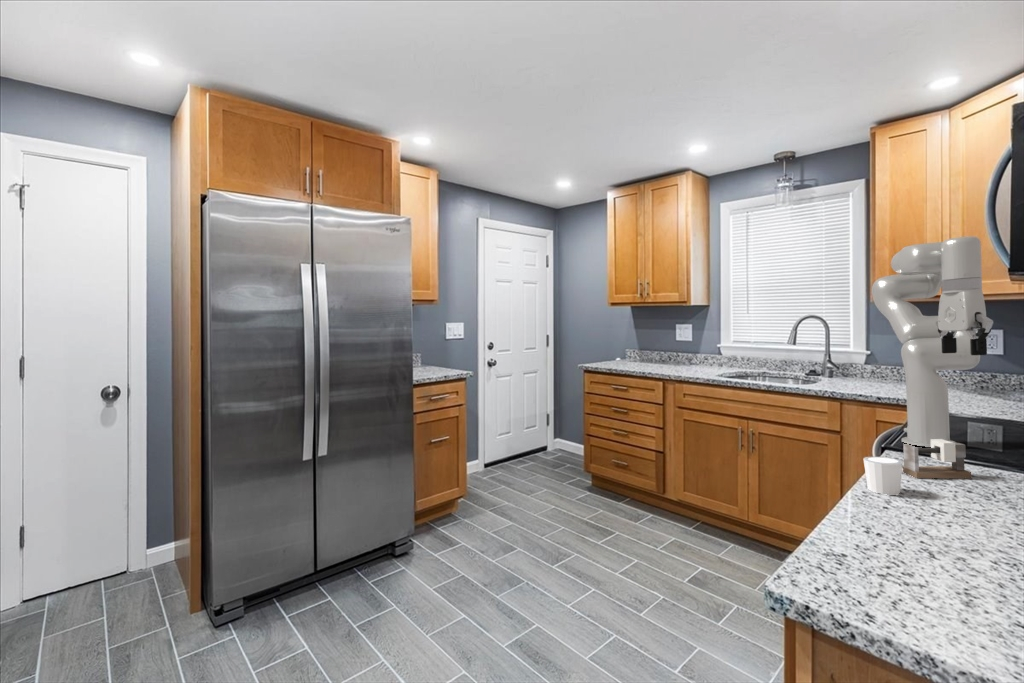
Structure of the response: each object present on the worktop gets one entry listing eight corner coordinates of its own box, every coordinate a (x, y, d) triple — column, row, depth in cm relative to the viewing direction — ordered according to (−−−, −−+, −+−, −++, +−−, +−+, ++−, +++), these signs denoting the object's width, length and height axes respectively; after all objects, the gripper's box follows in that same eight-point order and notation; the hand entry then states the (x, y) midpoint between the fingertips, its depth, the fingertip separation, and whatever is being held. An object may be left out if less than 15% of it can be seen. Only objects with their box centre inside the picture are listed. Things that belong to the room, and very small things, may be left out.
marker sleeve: (931, 457, 120) (930, 439, 120) (942, 457, 119) (941, 439, 119) (944, 462, 115) (943, 443, 115) (955, 461, 115) (955, 443, 115)
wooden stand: (903, 472, 121) (901, 442, 121) (955, 472, 119) (954, 441, 119) (916, 478, 116) (915, 446, 116) (971, 478, 114) (970, 446, 114)
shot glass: (871, 495, 106) (870, 463, 106) (859, 486, 112) (858, 455, 112) (909, 497, 104) (908, 464, 104) (895, 487, 110) (894, 456, 110)
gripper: (921, 290, 134) (923, 353, 135) (971, 284, 117) (973, 356, 117) (952, 288, 133) (954, 351, 133) (1007, 282, 116) (1009, 355, 116)
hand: (963, 354), depth 125 cm, fingers open, 9 cm apart
